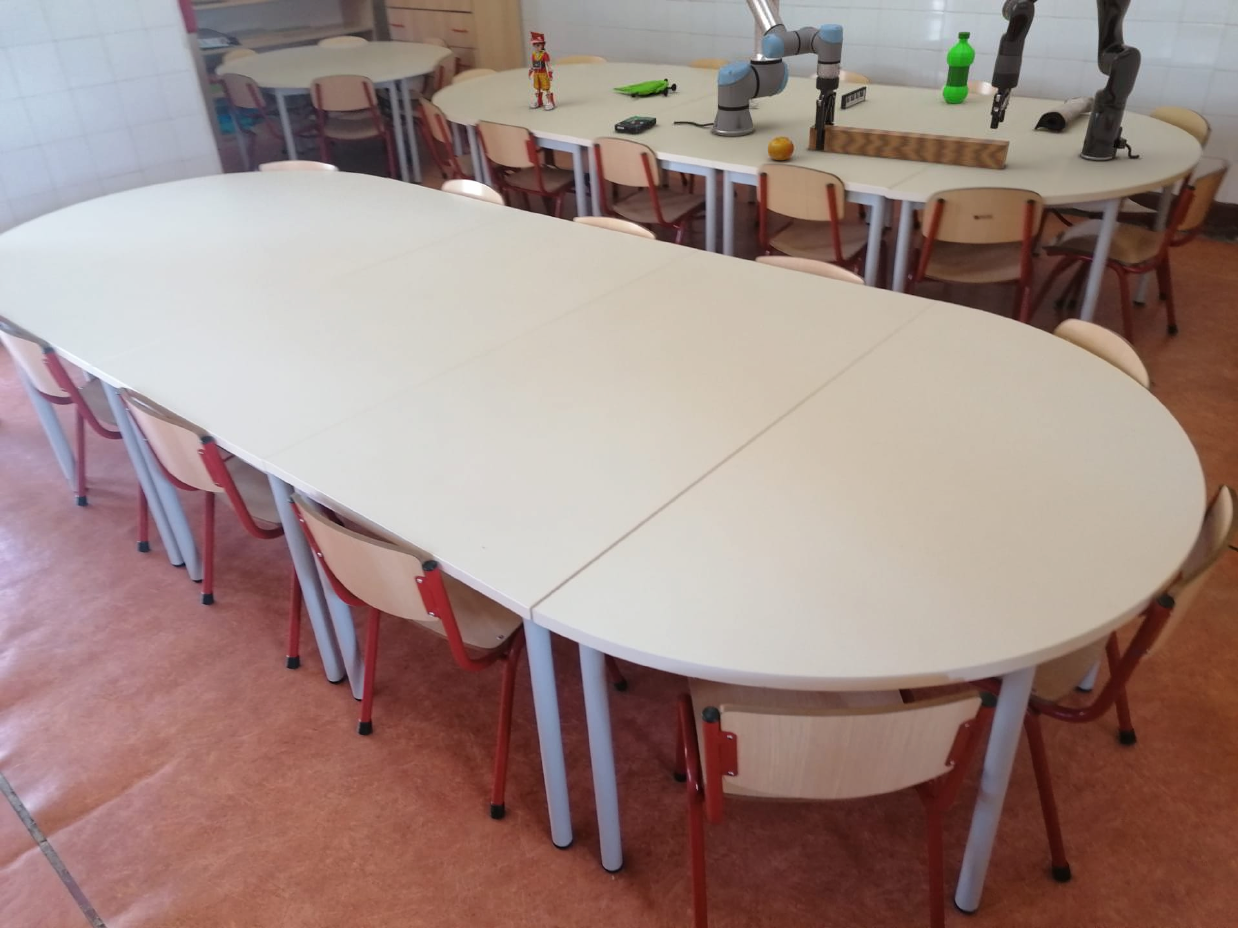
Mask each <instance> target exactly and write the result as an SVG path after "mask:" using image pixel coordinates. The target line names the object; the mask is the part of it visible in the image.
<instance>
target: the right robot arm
mask: <svg viewBox="0 0 1238 928" xmlns="http://www.w3.org/2000/svg"><path fill="white" fill-rule="evenodd" d="M1095 1H1096V2H1095V3H1096V12H1097V27H1098V28H1097V29H1098V30H1097V31H1098V35H1097V36H1098V38H1097V39H1098V40H1097V43H1098V44H1097V59H1096V60H1097V67H1098V70H1099V72H1100V73H1101V74H1102V75H1104V76H1107V77H1108V78H1107V82H1106V85H1105V87H1103V88H1102V87H1101V88H1099V89H1097V90H1096V92H1095V94H1094V97H1093V99H1094V102H1093V106H1092V111H1091V112H1090V114H1089V115H1090V116H1089V120H1088V123H1087V129H1086V131H1085V136H1084V139H1083V140H1082V141H1083V143H1082V148H1081V152H1080V157H1081V158H1083V159H1086V160H1090V161H1109V160H1112V159H1115V158H1116V156H1117V152H1118V150H1125V149H1126V148H1127V156H1128V158H1129V159H1139V158H1140V154H1135V155H1132V147H1131V146H1130V145H1129V144H1128V143H1127V141H1128V140H1127V139H1126V138H1125V137H1122V133H1123V129H1124V128H1123V126H1121V125H1122V121H1123V117H1124V114H1125V111H1126V106H1127V103H1128V98H1129V96H1130V95H1131V93H1132V92H1133V90H1134V87H1135V84H1136V80H1137V77H1138V74H1139V71H1140V68H1141V63H1142V54H1141V51H1140V50H1139V49H1138V48H1137V47H1134V46H1132V45H1128V44H1125V40H1124V30H1123V28H1124V27H1123V26H1124V20H1125V17H1126V15H1127V12H1128V10H1129V8H1130V6H1131V3H1132V0H1095ZM1036 2H1038V0H1005V2H1004V3H1003V5H1002V8H1001V14H1002V17H1003V19H1005V20H1006V21H1008V26H1007V29H1006V32H1004V33H1002V35H1001V36H1000V38H999V45H998V49H997V50H998V51H997V55H996V58H995V61H994V67H993V73H992V78H991V82H990V83H991V84H990V85H991V87H992V88H995V89H997V91H996V92H995V93H994V95H993V100H992V106H991V111H990V116H991V121H990V125H989V127H990V129H993V130H997V129H998V128H999V125H1000V123H1004V121H1005V116H1006V110H1007V109H1008V107H1009V105H1010V99H1011V94H1012V90H1013V89H1015V88H1017V87H1018V86H1019V85H1018V84H1019V81H1020V75H1021V70H1022V64H1023V56H1024V55H1023V53H1024V49H1025V44H1026V39H1027V36H1028V34H1029V32H1030V29H1031V26H1032V24H1033V21H1034V18H1035V14H1036V13H1035V12H1036V6H1035V3H1036ZM996 110H997V111H996Z"/></svg>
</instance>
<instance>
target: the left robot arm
mask: <svg viewBox="0 0 1238 928" xmlns="http://www.w3.org/2000/svg"><path fill="white" fill-rule="evenodd" d="M745 2H746V3H747V6H748V7H749V11H750V12H751V14H752V16H753V19H754V53H753V54H752V56H751V57H750V59H749V61H733V62H729V63H726V64H724V65H723V66H721V67H720V68H719V70H718V75H717V111H716V114H715V118H714V120H713V122H708V123H702V124H701V123H698V122H695V121H687V120H686V121H685V120H684V121H673V124H675V125H677V124H678V125H679V124H681V125H682V124H683V125H685V124H686V125H692V126H696V127H703V128H704V127H708V126H709V127H711V126H712V133H713V134H715V135H717V136H721V137H741V136H746V135H750V134H752V133H754V127H755V126H754V121H753V118H752V115H751V111H750V107H749V100H750V99H752V100H756V99H760V98H761V99H762V98H767V97H769V98H770V97H773V96H776V95H780V94H781V93H782V92H784V89H786V87H787V84H788V82H789V75H790V74H789V72H790V71H789V68H788V65H787V63H786V62H785V60H783V58H787V57H792V56H793V57H794V56H801V55H806V54H814V55H817V63H816V76H817V77H816V81H815V82H816V83H815V88H816V90H818V91H820V93H819V95H818V99H816V100H815V119H814V124H815V128H814V130H817V137H816V150H815V151H818V150H824V141H825V130H824V128H825V125H833V126H835V110H836V98H837V91H836V90H838V88H839V87H840V77H839V76H840V74H841V73H840V72H841V70H842V68H843V67H842V65H841V61H842V54H843V53H842V51H843V41H844V27H843V26H842V24H837V23H828V24H822V25H821V26H820V28H816V27H814V26H802V27H800V28H799V29H798V30H789V31H788V30H787V28H786V26H785V23H784V21H783V19H782V17H781V15H780V0H745Z"/></svg>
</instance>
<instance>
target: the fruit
mask: <svg viewBox="0 0 1238 928" xmlns="http://www.w3.org/2000/svg"><path fill="white" fill-rule="evenodd" d="M794 152H795V145H794V143H793V141H792V140H791V139H790V138H789V137H786V136H779V137H775V138H773V139H772V140H771V141H769V143H768V146H767V153H768V155H769V157H770V158H771V159H773V160H775V161H784V160H788V159H789V158H791V156H792V155H793V154H794Z"/></svg>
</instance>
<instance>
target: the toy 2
mask: <svg viewBox="0 0 1238 928" xmlns="http://www.w3.org/2000/svg"><path fill="white" fill-rule="evenodd" d="M669 85H670V83H669V79H668V78H664V79H663V80H649V81H644V82H640V83H634V84H629V85H627V86H621V87H613V88H612V89H613V90H616V91H619V92H623V93H627V94H628V93H629V94H631V95H630V96H631V98H632V99H634V98H636V96H637V95H650V94H652V93H654V94H658V93H662V95H663V96H665V97H667V96H668V95H669V90H671V91H672V92H676V91H677V84H676V83H672V84H671V86H669Z"/></svg>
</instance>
